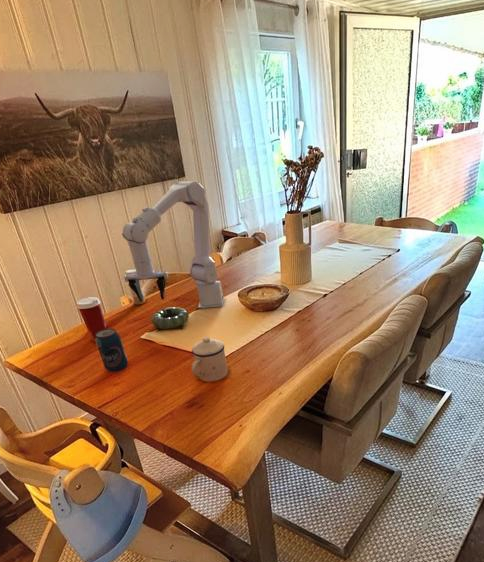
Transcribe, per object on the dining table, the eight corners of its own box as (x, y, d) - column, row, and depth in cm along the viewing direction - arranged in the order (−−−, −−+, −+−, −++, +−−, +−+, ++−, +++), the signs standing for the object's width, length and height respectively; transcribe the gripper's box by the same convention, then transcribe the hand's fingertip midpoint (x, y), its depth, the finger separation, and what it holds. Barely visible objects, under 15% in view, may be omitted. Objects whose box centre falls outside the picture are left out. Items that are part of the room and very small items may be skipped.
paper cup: (116, 334, 154) (104, 296, 146) (102, 344, 148) (88, 305, 140) (98, 332, 156) (85, 295, 148) (84, 342, 150) (69, 304, 142)
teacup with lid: (211, 364, 130) (204, 328, 124) (235, 370, 126) (229, 334, 119) (184, 383, 122) (175, 346, 115) (208, 390, 118) (200, 353, 111)
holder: (186, 318, 161) (183, 302, 157) (182, 329, 153) (178, 311, 149) (162, 320, 161) (158, 304, 157) (157, 331, 153) (153, 314, 150)
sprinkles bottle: (147, 302, 178) (138, 270, 170) (136, 305, 176) (127, 273, 168) (143, 299, 181) (134, 268, 173) (132, 302, 179) (123, 270, 172)
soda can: (106, 375, 129) (93, 339, 122) (105, 365, 134) (92, 330, 128) (130, 369, 131) (118, 333, 124) (127, 360, 136) (116, 325, 130)
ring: (191, 313, 162) (189, 304, 160) (186, 328, 151) (184, 318, 149) (157, 316, 162) (154, 307, 160) (149, 331, 151) (146, 322, 149)
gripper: (117, 266, 141) (129, 305, 148) (161, 262, 140) (170, 302, 148) (123, 260, 146) (134, 298, 154) (165, 256, 146) (174, 294, 154)
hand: (152, 299), depth 151 cm, fingers open, 7 cm apart
